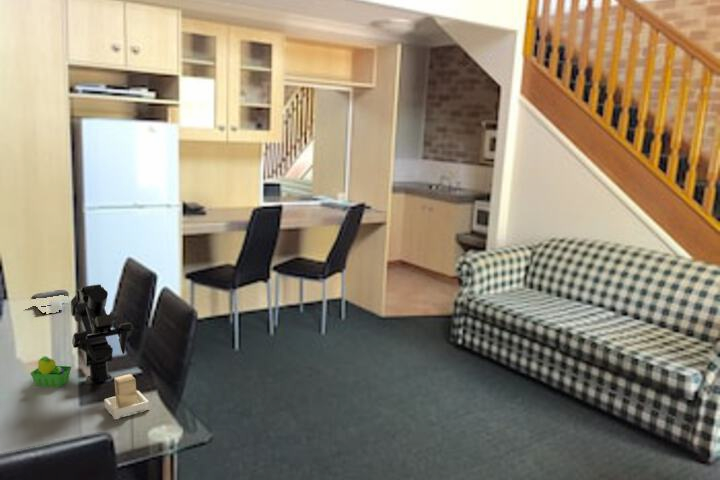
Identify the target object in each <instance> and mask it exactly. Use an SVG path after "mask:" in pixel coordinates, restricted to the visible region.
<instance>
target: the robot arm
mask: <svg viewBox="0 0 720 480" xmlns="http://www.w3.org/2000/svg"><path fill="white" fill-rule="evenodd" d="M108 294H109V293H108V291H107V290H106V289H105V288H104V286H102V285H101V284H100V283H99V284H98V283H97V284H92V285H91V284H90V285H85V286H81V288H80V289H76V290H75V295H74V297H73V298H72V299H71V300H70V314H71V316H72V317H73V320H74V321H75V322H77V323H80V325H81V327H82V331H79V332H74V333H73V336H72V340H71V343H72V348H74V349H78V350H82V351H84V352H83V363H84V364H85V365H86V367H89V374H90V375H87V376H86V377H87V379H88V380H89V381H91V382H92V383H98V382H101V381H105V380H108V379H111V378H112V375H111V374H110V373H109V372H108V371H109V370H108V362H112V360H113V351H114V350H113V347H112V346H111V344H110V343H109V342H108V340H107V337H110V336H111V337H112V336H116V335H118V342H119V346H120V350H121V353H122V354H123V355H125V352H126V340H127V339H129V337H131V336H132V334H133V332H134V331H133V330H134V326H133V324H132V323H131V322H125V323H120V324H119V325H118V328H113V324H114V322H118V320H119V316H118V313H117V311H111V312H110V313H109V314H108V313H107V312H106V306H107V305H106V304H107V301H108ZM80 301H81V302H80Z"/></svg>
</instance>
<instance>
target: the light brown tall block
mask: <svg viewBox="0 0 720 480" xmlns="http://www.w3.org/2000/svg"><path fill="white" fill-rule="evenodd" d="M113 381H114V390H115V391H114V392H115V396H116V405H117V408H118V409H120V408H123V407H127V406H130V405H134V404H137V393H136V391H137V383H136V381H137V380H136V378H135V377H134V376H133V374H131V373H128V374H125V375H120V376H119V375H118V376H115V377H114V380H113Z"/></svg>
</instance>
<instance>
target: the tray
mask: <svg viewBox="0 0 720 480" xmlns="http://www.w3.org/2000/svg"><path fill="white" fill-rule="evenodd" d="M136 393H137V399H138V400H139V401H140V402H141V403H138V404H134V405H130V406H127V407H123V408H120V409H118V408H117V405H116V395H115V396H112V397H108V398H107V397H106V398H104V408H105V410H106V409H107V410H108V411H109V412H108V411H107V410H106V411H107V412H108V413H109V415H110V414H111V415H112V416H113V417H114V418H117V417H120V416H122V415H125V414H128V413H131V412H136V411H140V410H143V409H147V408H149V409H150V401H149V400H148V399H147V398H146V397H145V396H144V394H142V392H141V391H140V390H139V389H138V390H137V389H136ZM111 415H110V416H111ZM112 416H111V417H112ZM113 417H112V418H113ZM114 418H113V419H114Z"/></svg>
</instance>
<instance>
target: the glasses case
mask: <svg viewBox="0 0 720 480" xmlns="http://www.w3.org/2000/svg"><path fill="white" fill-rule="evenodd" d="M59 295H64V296H68V297H69V296H70V293H69V292H68V291H67V290H65V289H55V290H48V291H44V292H40V293H36V294H33V295H32V296H31V298H30V299H36V298H47V297H53V296H59Z"/></svg>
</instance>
